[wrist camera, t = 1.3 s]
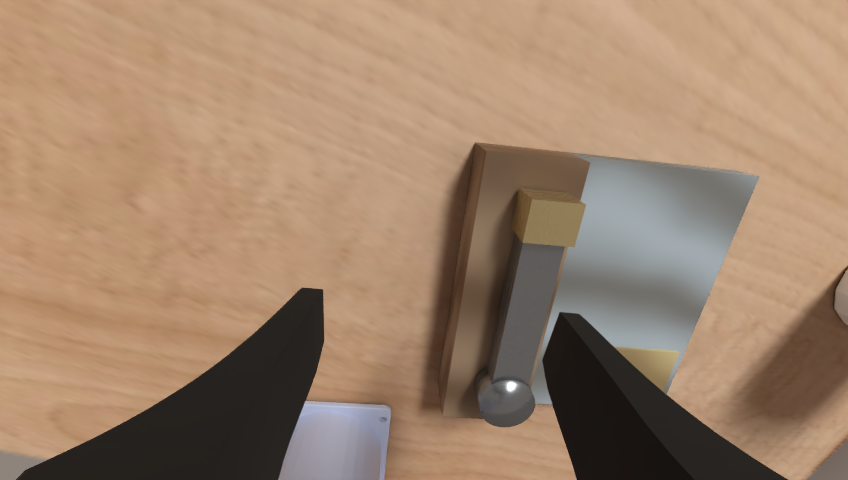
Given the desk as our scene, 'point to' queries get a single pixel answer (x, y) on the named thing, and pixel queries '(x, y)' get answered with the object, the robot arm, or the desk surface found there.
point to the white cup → (842, 298)
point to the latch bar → (526, 302)
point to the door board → (593, 258)
